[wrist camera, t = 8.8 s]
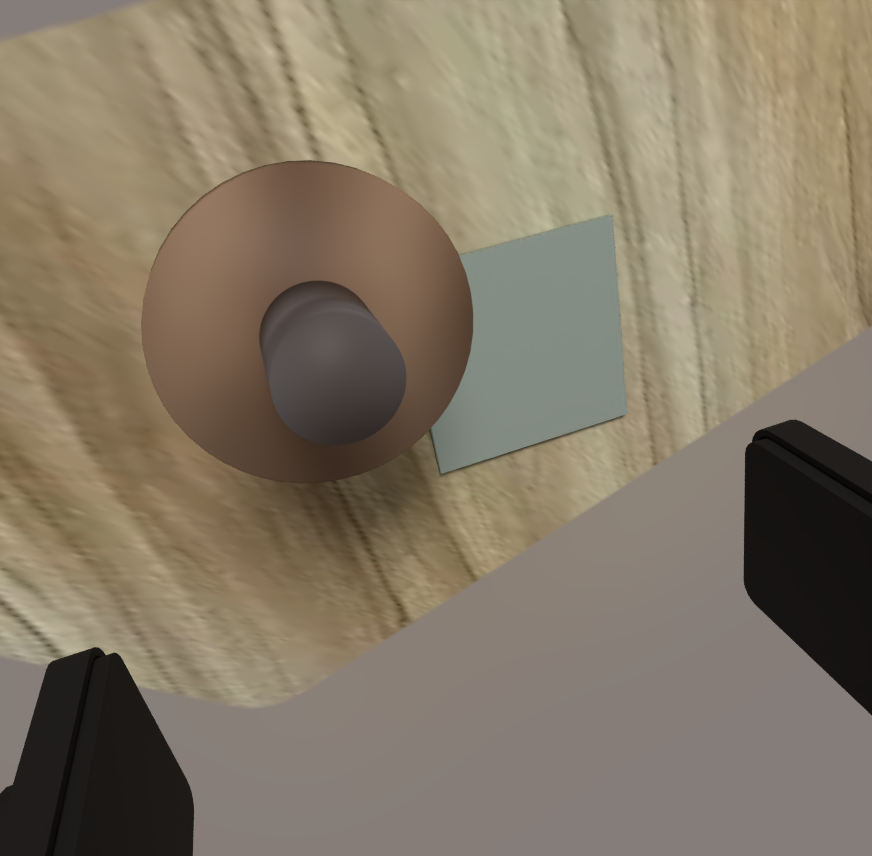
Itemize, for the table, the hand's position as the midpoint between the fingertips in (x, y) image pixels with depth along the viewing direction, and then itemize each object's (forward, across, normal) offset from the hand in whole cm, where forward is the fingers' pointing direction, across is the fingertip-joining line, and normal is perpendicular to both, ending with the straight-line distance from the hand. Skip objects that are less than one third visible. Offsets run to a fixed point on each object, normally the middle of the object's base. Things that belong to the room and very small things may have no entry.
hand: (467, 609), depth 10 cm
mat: (+27, -10, +8) cm, 30 cm away
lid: (+14, 0, 0) cm, 14 cm away
